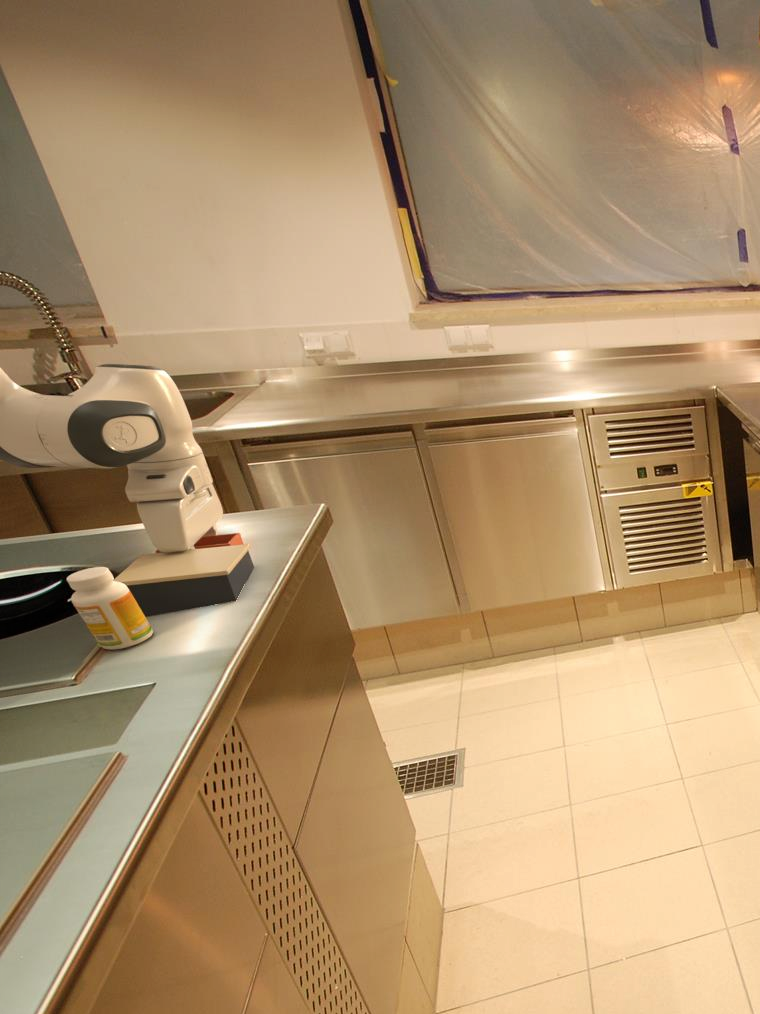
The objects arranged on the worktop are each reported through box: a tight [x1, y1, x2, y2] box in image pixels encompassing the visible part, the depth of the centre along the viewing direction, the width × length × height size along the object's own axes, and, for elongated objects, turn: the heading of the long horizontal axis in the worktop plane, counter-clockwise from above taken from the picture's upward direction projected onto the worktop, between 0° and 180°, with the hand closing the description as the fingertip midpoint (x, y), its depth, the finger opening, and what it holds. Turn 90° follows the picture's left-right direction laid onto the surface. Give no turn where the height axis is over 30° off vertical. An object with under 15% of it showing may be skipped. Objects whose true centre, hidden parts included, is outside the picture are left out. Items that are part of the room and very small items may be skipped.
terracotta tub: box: [155, 532, 244, 553], centre depth 131 cm, size 9×6×5 cm, turn 116°
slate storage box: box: [113, 543, 255, 618], centre depth 121 cm, size 13×13×6 cm
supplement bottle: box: [66, 566, 154, 650], centre depth 107 cm, size 5×5×10 cm
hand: (204, 561), depth 132 cm, fingers open, 8 cm apart
